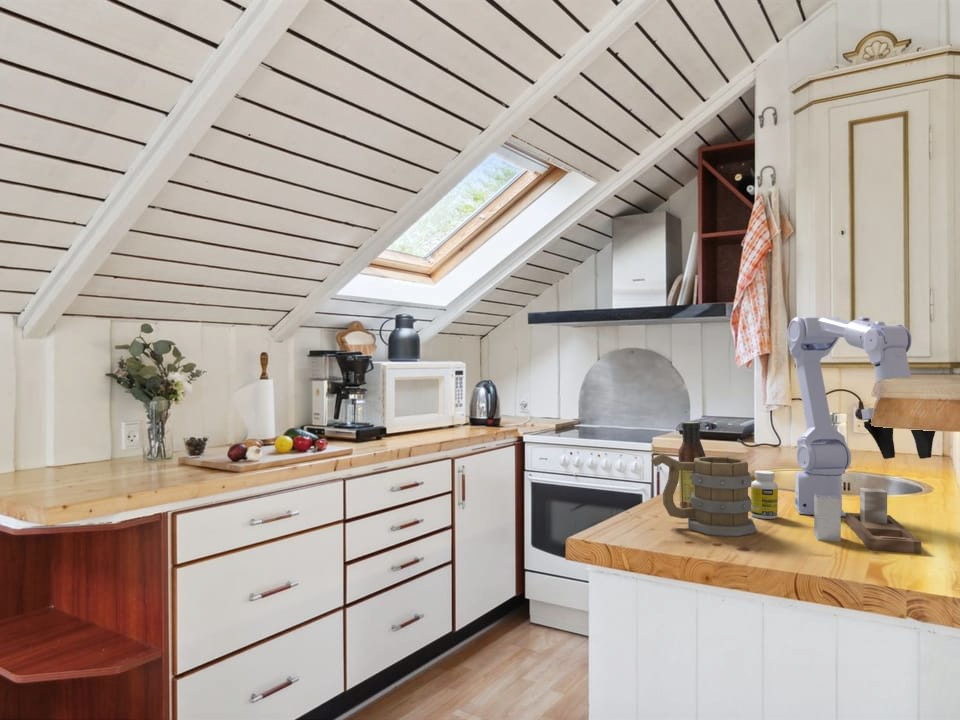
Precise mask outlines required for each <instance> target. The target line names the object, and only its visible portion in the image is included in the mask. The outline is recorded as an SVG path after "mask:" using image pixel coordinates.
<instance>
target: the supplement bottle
mask: <svg viewBox="0 0 960 720" xmlns="http://www.w3.org/2000/svg"><path fill="white" fill-rule="evenodd" d="M754 478H755V480H753V481H751V487H750V499H751V502H752V504H751V512H750V514H751V517H754V518H756V519H762V520H772V519H774V520H775V519H776V518H777V517H778V508H779V507H778V505H779V504H778V500H779V499H778V497H779V496H778V495H779V487H778V484H777V482H775V481H774V480H775V472H774V471H771V470H755V471H754Z"/></svg>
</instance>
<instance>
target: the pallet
mask: <svg viewBox="0 0 960 720" xmlns="http://www.w3.org/2000/svg"><path fill="white" fill-rule="evenodd" d="M859 494H860V495H859V499H860V500H859V501H860V503H859V504H860V505H859V507H860V508H859V510H860V511H859V513H858V512H857V513H855V512H845V513H846V517H845V523H846V524H847V525H848V527H849V528H850V529H851V530H852V531H853V533H854V534H855V535H856V536H857V537H858V539H860V541H861V540H862V541H861V542H862V543H863V544H864V545H865V546H866V548H868V550H869V551H870V550H871V551H885V552H898V553H901V552H902V553H910V554H911V553H912V554H922V541H920V540H919V539H918V538H917V537H916V536H915V535H914V534H912V533H911V532H910V531H909V530H908V529H906V528H905V527H904V526H903V525H902V524H900V522H898V521H897V520H896V519H895V518H894V517H892V516H891V515H890V514H888V492H887V491H886V490H885V489H884V488H875V487H873V488H872V487H871V488H870V487H860V488H859Z"/></svg>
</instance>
